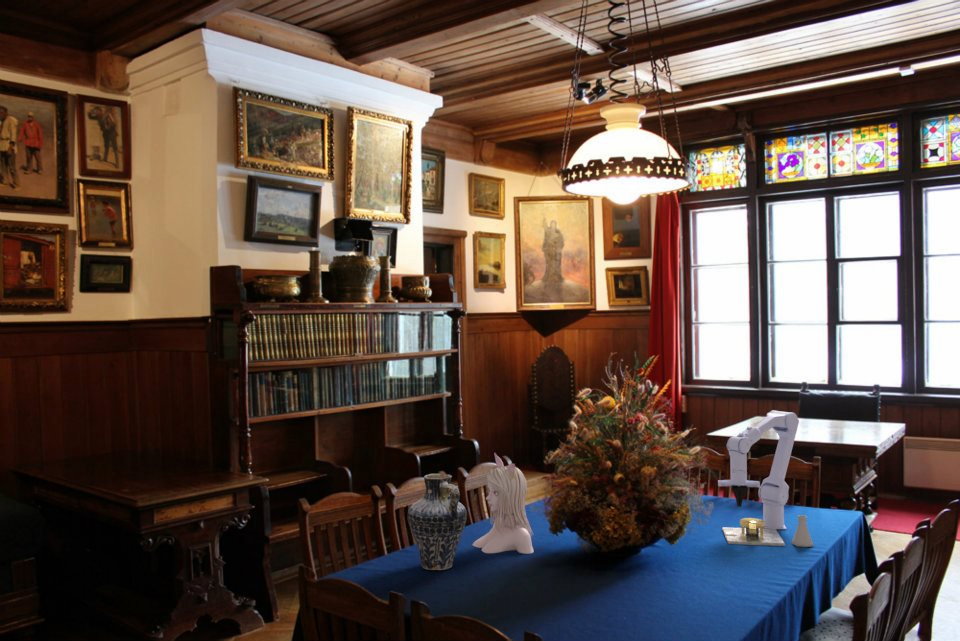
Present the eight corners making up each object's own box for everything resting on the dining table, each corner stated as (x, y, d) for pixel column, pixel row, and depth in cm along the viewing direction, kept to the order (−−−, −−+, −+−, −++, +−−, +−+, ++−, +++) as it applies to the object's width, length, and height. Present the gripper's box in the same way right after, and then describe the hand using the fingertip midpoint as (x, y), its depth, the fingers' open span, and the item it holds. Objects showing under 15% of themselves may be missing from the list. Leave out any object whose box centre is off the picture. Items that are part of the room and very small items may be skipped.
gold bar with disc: (740, 529, 290) (739, 517, 290) (764, 531, 287) (764, 518, 287) (740, 540, 276) (740, 527, 276) (765, 542, 273) (765, 529, 273)
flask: (817, 547, 272) (816, 518, 272) (796, 547, 272) (795, 519, 272) (808, 541, 279) (808, 513, 279) (788, 541, 279) (788, 513, 279)
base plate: (722, 529, 295) (722, 518, 295) (775, 531, 291) (775, 520, 291) (728, 543, 277) (727, 532, 277) (784, 546, 274) (784, 534, 274)
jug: (396, 567, 258) (394, 476, 257) (438, 553, 272) (437, 467, 272) (440, 581, 244) (438, 485, 243) (482, 565, 258) (480, 474, 257)
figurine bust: (463, 539, 289) (461, 452, 288) (512, 531, 297) (511, 447, 297) (494, 559, 265) (492, 464, 264) (546, 550, 273) (545, 459, 273)
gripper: (719, 471, 286) (719, 508, 286) (761, 471, 283) (761, 509, 284) (717, 467, 293) (717, 503, 293) (758, 468, 290) (758, 504, 291)
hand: (739, 506), depth 289 cm, fingers closed
